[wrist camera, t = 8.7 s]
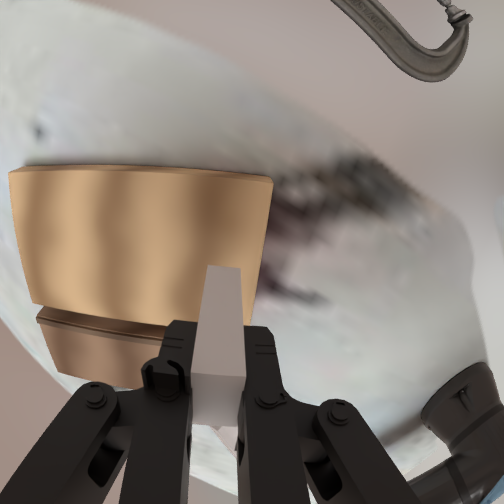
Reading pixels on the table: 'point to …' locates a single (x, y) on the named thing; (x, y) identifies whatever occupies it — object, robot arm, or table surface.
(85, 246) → the oak plank
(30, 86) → the table surface
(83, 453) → the robot arm
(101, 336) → the walnut floor board
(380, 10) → the c clamp
